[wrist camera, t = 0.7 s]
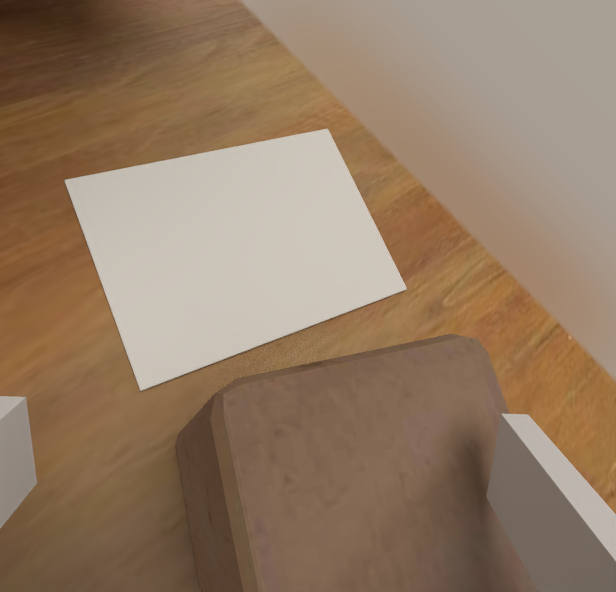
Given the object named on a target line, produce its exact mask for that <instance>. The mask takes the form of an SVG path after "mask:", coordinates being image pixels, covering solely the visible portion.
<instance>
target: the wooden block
mask: <svg viewBox="0 0 616 592" xmlns="http://www.w3.org/2000/svg"><path fill="white" fill-rule="evenodd" d="M501 414H509V411H508V408H507V405H506V402H505V400H504V397H503V394H502V391H501V388H500V385H499V383H498V380H497V377H496V374H495V371H494V368H493V365H492V363H491V360H490V357H489V354H488V352H487V351H486V349H485V348H484V347H483V345H482V344H481V343H480V341H479V340H478V339H477V338H470V337H463V336H458V335H453V334H449V335H444V336H439V337H434V338H430V339H425V340H420V341H415V342H410V343H406V344H401V345H396V346H391V347H386V348H381V349H377V350H372V351H367V352H362V353H357V354H353V355H348V356H343V357H338V358H333V359H329V360H324V361H319V362H314V363H309V364H305V365H300V366H295V367H290V368H285V369H281V370H276V371H271V372H266V373H261V374H256V375H252V376H247V377H242V378H237V379H235V380H234V381H232V382H231V383H230V384H228V385H227V386H225V387H224V388H222V389H221V390H219V391H218V392H216V393H215V394H214V395H213V396H212V398H211V399H210V400H209V401H208V402H207V403H206V404H205V405H204V406H203V408H202V409H201V410H200V411H199V412H198V413H197V414H196V415H195V416H194V418H193V419H192V420H191V421H190V422H189V423H188V424H187V425H186V426H185V428H184V429H183V430H182V431H181V432H180V433H179V434H178V439H177V443H176V452H177V458H178V463H179V469H180V475H181V481H182V487H183V493H184V499H185V504H186V510H187V516H188V522H189V528H190V534H191V540H192V545H193V551H194V557H195V563H196V569H197V575H198V581H199V586H200V588H201V591H202V592H538V590H537V589H536V587H535V585H534V583H533V581H532V579H531V578H530V576H529V574H528V572H527V570H526V568H525V567H524V565H523V563H522V561H521V559H520V557H519V556H518V554H517V552H516V550H515V548H514V546H513V545H512V543H511V541H510V539H509V537H508V535H507V534H506V532H505V530H504V528H503V526H502V524H501V522H500V521H499V519H498V517H497V515H496V513H495V511H494V510H493V508H492V506H491V504H490V502H489V500H488V499H487V497H486V496H487V490H488V484H489V479H490V473H491V468H492V462H493V456H494V451H495V445H496V440H497V434H498V428H499V423H500V417H501Z"/></svg>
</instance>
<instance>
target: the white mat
mask: <svg viewBox="0 0 616 592" xmlns="http://www.w3.org/2000/svg"><path fill="white" fill-rule="evenodd" d="M65 184H66V187H67V189H68V192H69V195H70V198H71V200H72V203H73V206H74V209H75V211H76V214H77V217H78V220H79V223H80V225H81V228H82V231H83V234H84V236H85V239H86V242H87V245H88V247H89V250H90V253H91V256H92V258H93V261H94V264H95V267H96V270H97V272H98V275H99V278H100V281H101V283H102V286H103V289H104V292H105V294H106V297H107V300H108V303H109V305H110V308H111V311H112V314H113V317H114V319H115V322H116V325H117V328H118V330H119V333H120V336H121V339H122V341H123V344H124V347H125V350H126V352H127V355H128V358H129V361H130V364H131V366H132V369H133V372H134V375H135V377H136V380H137V383H138V386H139V388H140V391H144V390H146V389H149V388H151V387H154V386H157V385H159V384H162V383H164V382H167V381H170V380H172V379H175V378H178V377H180V376H183V375H185V374H188V373H191V372H193V371H196V370H198V369H201V368H204V367H206V366H209V365H212V364H214V363H217V362H219V361H222V360H225V359H227V358H230V357H232V356H235V355H238V354H240V353H243V352H246V351H248V350H251V349H253V348H256V347H259V346H261V345H264V344H266V343H269V342H272V341H274V340H277V339H280V338H282V337H285V336H287V335H290V334H293V333H295V332H298V331H300V330H303V329H306V328H308V327H311V326H314V325H316V324H319V323H321V322H324V321H327V320H329V319H332V318H334V317H337V316H340V315H342V314H345V313H348V312H350V311H353V310H355V309H358V308H361V307H363V306H366V305H368V304H371V303H374V302H376V301H379V300H382V299H384V298H387V297H389V296H392V295H395V294H397V293H400V292H402V291H405V290H406V289H407V288H406V286H405V284H404V282H403V280H402V278H401V276H400V274H399V272H398V270H397V268H396V266H395V264H394V262H393V260H392V258H391V256H390V254H389V252H388V249H387V247H386V245H385V243H384V241H383V239H382V237H381V235H380V233H379V231H378V229H377V227H376V225H375V223H374V221H373V219H372V217H371V215H370V213H369V211H368V209H367V207H366V205H365V203H364V201H363V199H362V197H361V195H360V193H359V191H358V189H357V187H356V185H355V183H354V181H353V179H352V177H351V175H350V173H349V171H348V169H347V167H346V165H345V163H344V161H343V159H342V157H341V154H340V152H339V150H338V148H337V146H336V144H335V142H334V140H333V138H332V136H331V134H330V132H329V130H328V129H323V130H318V131H313V132H308V133H303V134H298V135H293V136H288V137H282V138H277V139H272V140H267V141H262V142H257V143H252V144H247V145H241V146H236V147H231V148H226V149H221V150H216V151H211V152H206V153H200V154H195V155H190V156H185V157H180V158H175V159H170V160H164V161H159V162H154V163H149V164H144V165H139V166H134V167H129V168H123V169H118V170H113V171H108V172H103V173H98V174H93V175H88V176H82V177H77V178H72V179H67V180H65Z"/></svg>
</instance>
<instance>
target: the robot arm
mask: <svg viewBox="0 0 616 592" xmlns="http://www.w3.org/2000/svg"><path fill="white" fill-rule="evenodd" d="M36 484H37V479H36V471H35V463H34V455H33V448H32V440H31V432H30V424H29V417H28V409H27V401H26V397H7V396H0V529H1V528H2V526H3V525H4V524H5V523H6V521H7V520H8V519H9V518H10V516H11V515H12V514H13V513H14V511H15V510H16V509H17V508H18V506H19V505H20V504H21V503H22V501H23V500H24V499H25V498H26V496H27V495H28V494H29V493H30V491H31V490H32V489H33V488H34V486H35V485H36ZM486 497H487V499H488V500H489V502H490V504H491V506H492V508H493V510H494V511H495V513H496V515H497V517H498V519H499V521H500V522H501V524H502V526H503V528H504V530H505V532H506V534H507V535H508V537H509V539H510V541H511V543H512V545H513V546H514V548H515V550H516V552H517V554H518V556H519V557H520V559H521V561H522V563H523V565H524V567H525V568H526V570H527V572H528V574H529V576H530V578H531V579H532V581H533V583H534V585H535V587H536V589H537V590H538V592H616V514H615V513H614V512H613V511H612V510H611V509H610V507H609V506H608V505H607V504H606V503H605V502H604V501H603V499H602V498H601V497H600V496H599V495H598V494H597V493H596V491H595V490H594V489H593V488H592V487H591V486H590V485H589V483H588V482H587V481H586V480H585V479H584V478H583V477H582V476H581V474H580V473H579V472H578V471H577V470H576V469H575V468H574V466H573V465H572V464H571V463H570V462H569V461H568V460H567V458H566V457H565V456H564V455H563V454H562V453H561V452H560V450H559V449H558V448H557V447H556V446H555V445H554V444H553V442H552V441H551V440H550V439H549V438H548V437H547V436H546V434H545V433H544V432H543V431H542V430H541V429H540V428H539V426H538V425H537V424H536V423H535V422H534V421H533V420H532V418H531V417H530V416H529V415H526V414H501V417H500V423H499V428H498V434H497V440H496V445H495V451H494V456H493V462H492V468H491V473H490V479H489V484H488V490H487V496H486Z"/></svg>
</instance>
